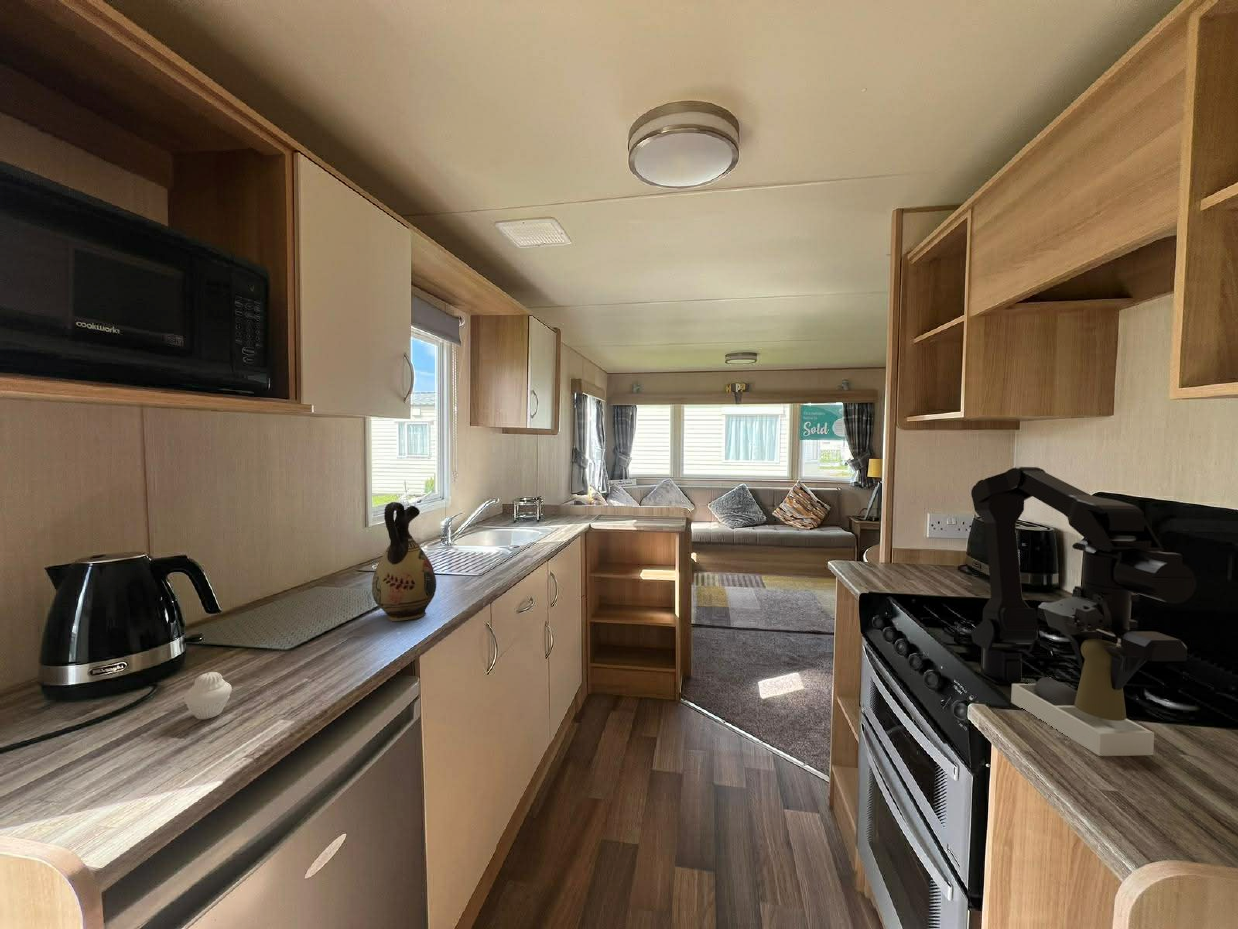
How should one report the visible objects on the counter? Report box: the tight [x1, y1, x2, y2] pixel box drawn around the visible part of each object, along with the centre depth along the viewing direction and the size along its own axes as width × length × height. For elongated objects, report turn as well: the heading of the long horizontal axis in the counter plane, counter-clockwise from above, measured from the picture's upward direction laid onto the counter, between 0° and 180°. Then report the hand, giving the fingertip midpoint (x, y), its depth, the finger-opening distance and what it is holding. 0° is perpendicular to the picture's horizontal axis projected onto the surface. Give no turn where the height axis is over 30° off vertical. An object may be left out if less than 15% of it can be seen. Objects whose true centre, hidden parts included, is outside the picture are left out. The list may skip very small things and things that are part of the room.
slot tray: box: [1010, 682, 1155, 757], centre depth 86 cm, size 16×8×3 cm, turn 3°
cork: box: [1074, 639, 1127, 721], centre depth 82 cm, size 6×6×11 cm
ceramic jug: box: [371, 501, 437, 622], centre depth 135 cm, size 17×15×30 cm
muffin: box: [183, 671, 233, 720], centre depth 86 cm, size 6×6×7 cm
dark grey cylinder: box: [1035, 676, 1078, 706], centre depth 90 cm, size 6×4×4 cm, turn 4°
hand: (1101, 682), depth 82 cm, fingers closed on cork, 4 cm apart
